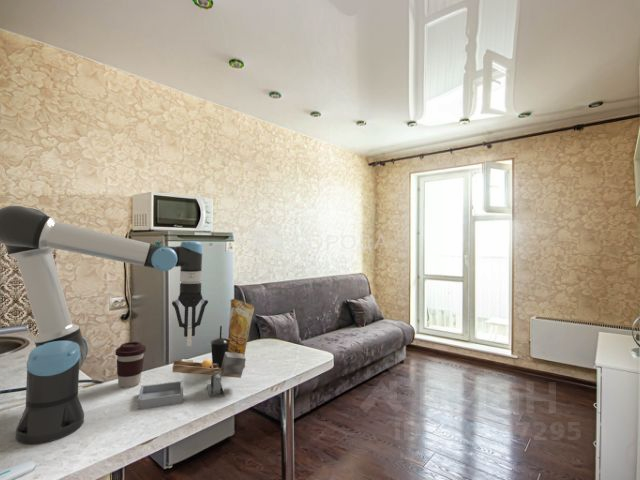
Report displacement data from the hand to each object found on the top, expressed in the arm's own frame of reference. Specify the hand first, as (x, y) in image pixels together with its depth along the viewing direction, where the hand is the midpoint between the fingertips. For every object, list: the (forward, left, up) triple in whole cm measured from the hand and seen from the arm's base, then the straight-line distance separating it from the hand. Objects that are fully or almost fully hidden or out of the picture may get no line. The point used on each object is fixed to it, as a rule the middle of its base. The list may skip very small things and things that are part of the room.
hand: (189, 344), depth 124 cm
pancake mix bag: (+21, +18, -16) cm, 33 cm away
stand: (+9, -7, -16) cm, 20 cm away
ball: (+6, -7, -6) cm, 11 cm away
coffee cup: (-20, +9, -16) cm, 27 cm away
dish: (-9, -7, -16) cm, 19 cm away
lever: (+6, -4, -9) cm, 11 cm away
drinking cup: (+12, +8, -16) cm, 22 cm away
